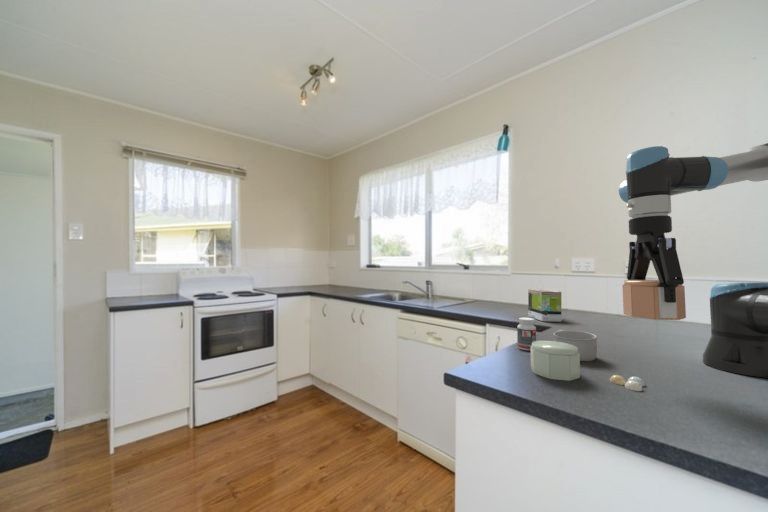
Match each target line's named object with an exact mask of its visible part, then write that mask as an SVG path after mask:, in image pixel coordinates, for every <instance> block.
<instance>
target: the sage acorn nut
mask: <svg viewBox="0 0 768 512" xmlns="http://www.w3.org/2000/svg"><path fill="white" fill-rule="evenodd" d="M580 362H581V361H580V354H579V353H578V348H577V347H576V346H574V345H571V344H567V343H562V342H556V341H554V340H536V341H534V342H532V346H531V351H530V369H531V371H532V374H534V375H537V376H541V377H543V378H546V379H549V380H550V379H551V380H558V381H568V382H569V381H573V380H577V379H580V378H581V363H580Z"/></svg>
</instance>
